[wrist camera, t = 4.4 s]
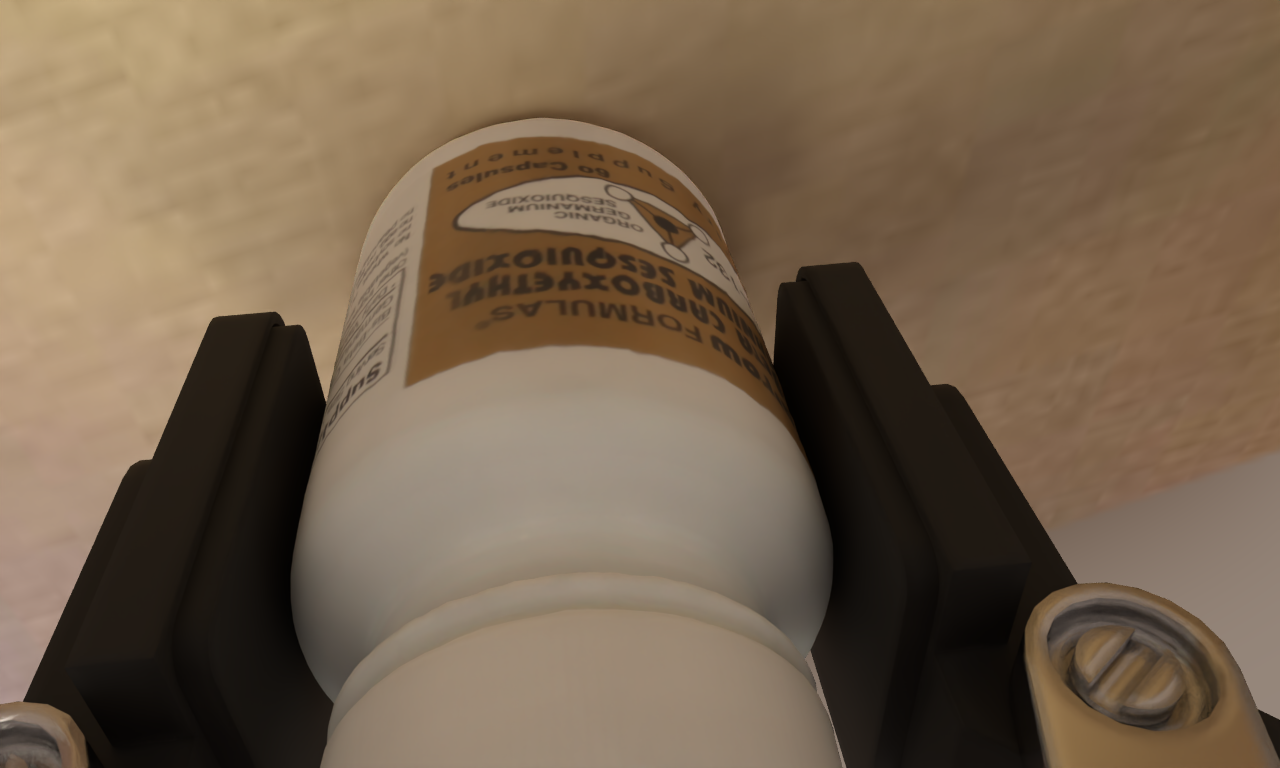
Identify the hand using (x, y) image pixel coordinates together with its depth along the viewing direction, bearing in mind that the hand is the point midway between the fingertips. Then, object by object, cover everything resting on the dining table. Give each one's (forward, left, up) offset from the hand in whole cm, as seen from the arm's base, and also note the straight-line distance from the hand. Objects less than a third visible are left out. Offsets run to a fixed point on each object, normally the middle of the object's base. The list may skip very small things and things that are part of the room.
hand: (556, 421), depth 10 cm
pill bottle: (0, 0, -3) cm, 3 cm away
